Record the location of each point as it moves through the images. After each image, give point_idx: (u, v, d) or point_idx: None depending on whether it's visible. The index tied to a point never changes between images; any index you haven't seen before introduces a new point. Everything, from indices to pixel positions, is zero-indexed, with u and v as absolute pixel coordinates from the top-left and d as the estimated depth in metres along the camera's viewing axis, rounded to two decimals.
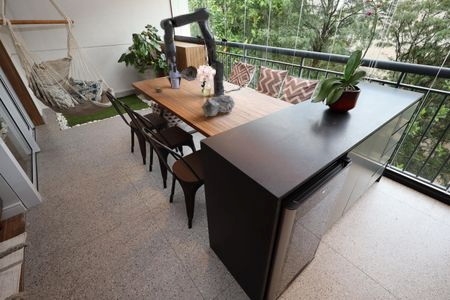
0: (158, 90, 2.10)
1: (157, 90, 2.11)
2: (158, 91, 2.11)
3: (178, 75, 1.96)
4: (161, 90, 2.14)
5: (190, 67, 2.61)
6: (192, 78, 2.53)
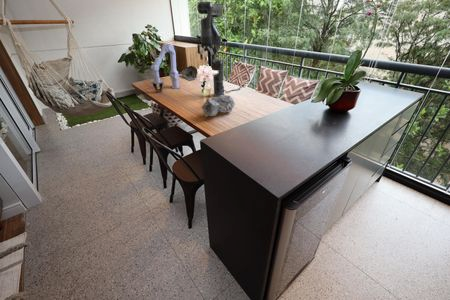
0: (158, 90, 2.10)
1: (157, 90, 2.11)
2: (158, 91, 2.11)
3: None
4: None
5: (190, 67, 2.61)
6: (192, 78, 2.53)
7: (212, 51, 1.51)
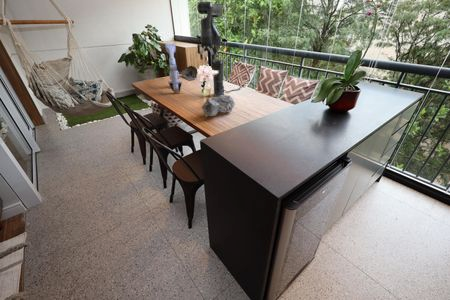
0: (176, 91, 2.08)
1: (175, 91, 2.08)
2: (176, 92, 2.08)
3: (179, 81, 2.06)
4: (178, 91, 2.11)
5: (190, 67, 2.61)
6: (192, 78, 2.53)
7: (212, 51, 1.51)
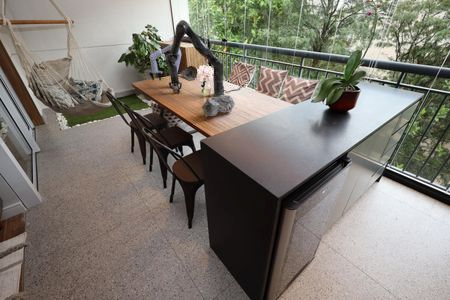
0: (176, 91, 2.08)
1: (175, 91, 2.08)
2: (176, 92, 2.08)
3: (159, 71, 2.13)
4: None
5: (190, 67, 2.61)
6: (192, 78, 2.53)
7: (178, 87, 2.06)
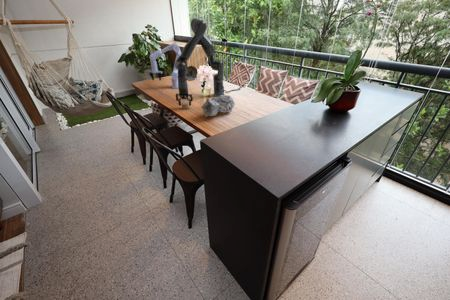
0: (185, 106, 1.74)
1: (183, 106, 1.74)
2: (184, 107, 1.75)
3: (159, 71, 2.13)
4: None
5: (190, 67, 2.61)
6: (192, 78, 2.53)
7: (188, 99, 1.72)
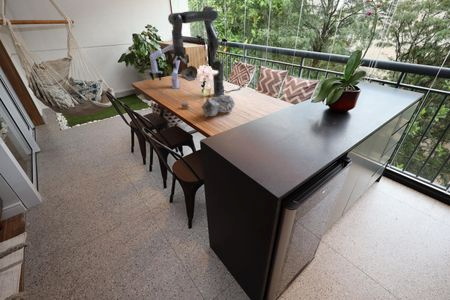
0: (185, 106, 1.74)
1: (183, 106, 1.74)
2: (184, 107, 1.75)
3: (159, 71, 2.13)
4: None
5: (190, 67, 2.61)
6: (192, 78, 2.53)
7: (185, 60, 1.55)
